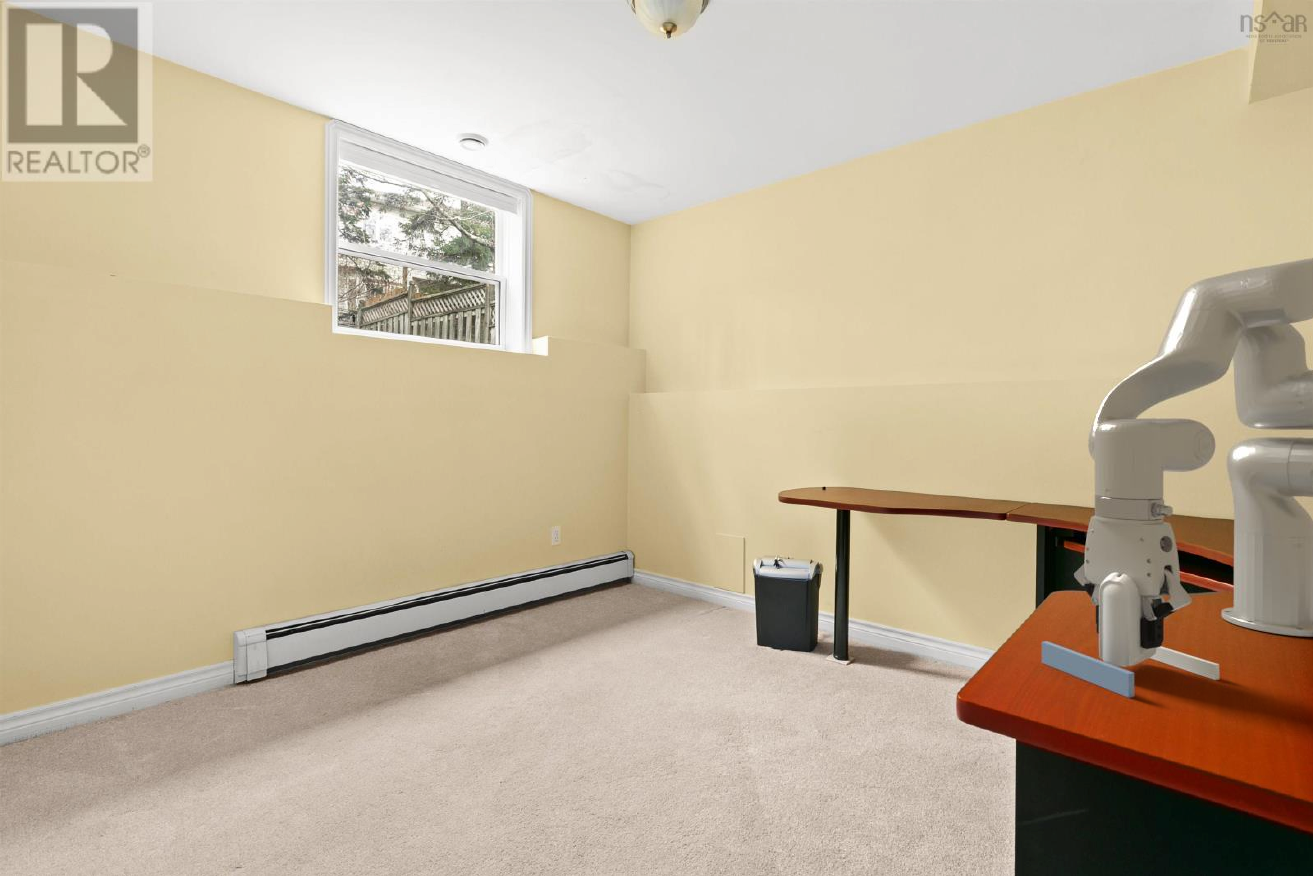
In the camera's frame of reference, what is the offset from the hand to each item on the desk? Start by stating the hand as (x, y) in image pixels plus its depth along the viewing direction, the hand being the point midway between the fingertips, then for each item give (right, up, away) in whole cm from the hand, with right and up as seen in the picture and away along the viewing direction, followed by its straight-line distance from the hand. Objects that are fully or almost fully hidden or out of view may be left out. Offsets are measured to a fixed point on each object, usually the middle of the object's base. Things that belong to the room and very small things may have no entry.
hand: (1128, 638), depth 84 cm
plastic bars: (0, -4, 0) cm, 4 cm away
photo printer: (0, -3, 0) cm, 3 cm away
